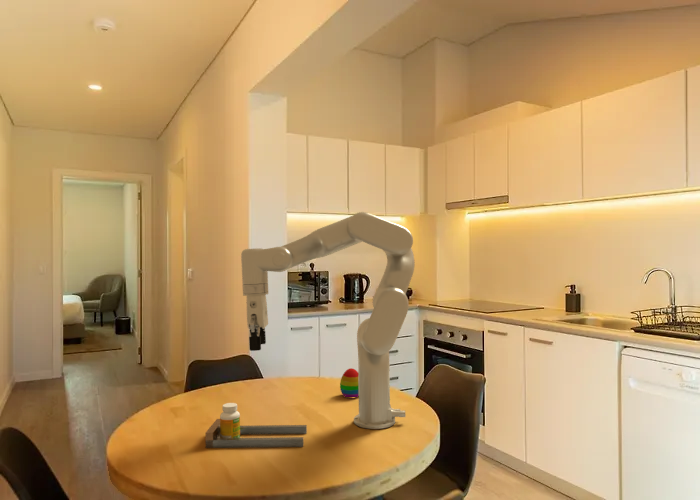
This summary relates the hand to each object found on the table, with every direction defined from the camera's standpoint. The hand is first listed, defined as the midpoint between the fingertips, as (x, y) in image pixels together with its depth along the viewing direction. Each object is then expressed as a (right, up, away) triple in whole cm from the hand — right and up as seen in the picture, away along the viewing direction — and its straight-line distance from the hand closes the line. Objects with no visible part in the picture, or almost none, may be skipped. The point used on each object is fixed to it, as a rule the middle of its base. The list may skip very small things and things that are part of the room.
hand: (258, 347), depth 145 cm
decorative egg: (+28, -24, +31) cm, 48 cm away
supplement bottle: (-6, -24, -10) cm, 27 cm away
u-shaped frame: (+2, -24, -10) cm, 26 cm away
